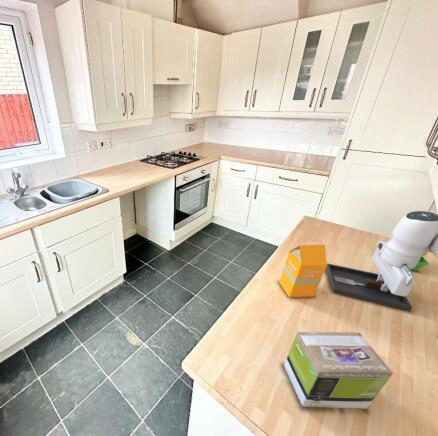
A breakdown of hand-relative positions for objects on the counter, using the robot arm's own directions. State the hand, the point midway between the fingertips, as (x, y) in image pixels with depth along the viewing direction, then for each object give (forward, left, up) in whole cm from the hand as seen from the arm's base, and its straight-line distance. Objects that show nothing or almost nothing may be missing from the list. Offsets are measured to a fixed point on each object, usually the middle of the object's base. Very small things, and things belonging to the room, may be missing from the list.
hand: (381, 286), depth 88 cm
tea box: (+25, +46, -2) cm, 52 cm away
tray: (+5, 0, -2) cm, 5 cm away
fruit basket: (-15, -23, -2) cm, 28 cm away
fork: (+5, 0, -1) cm, 5 cm away
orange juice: (+28, +11, -2) cm, 30 cm away
